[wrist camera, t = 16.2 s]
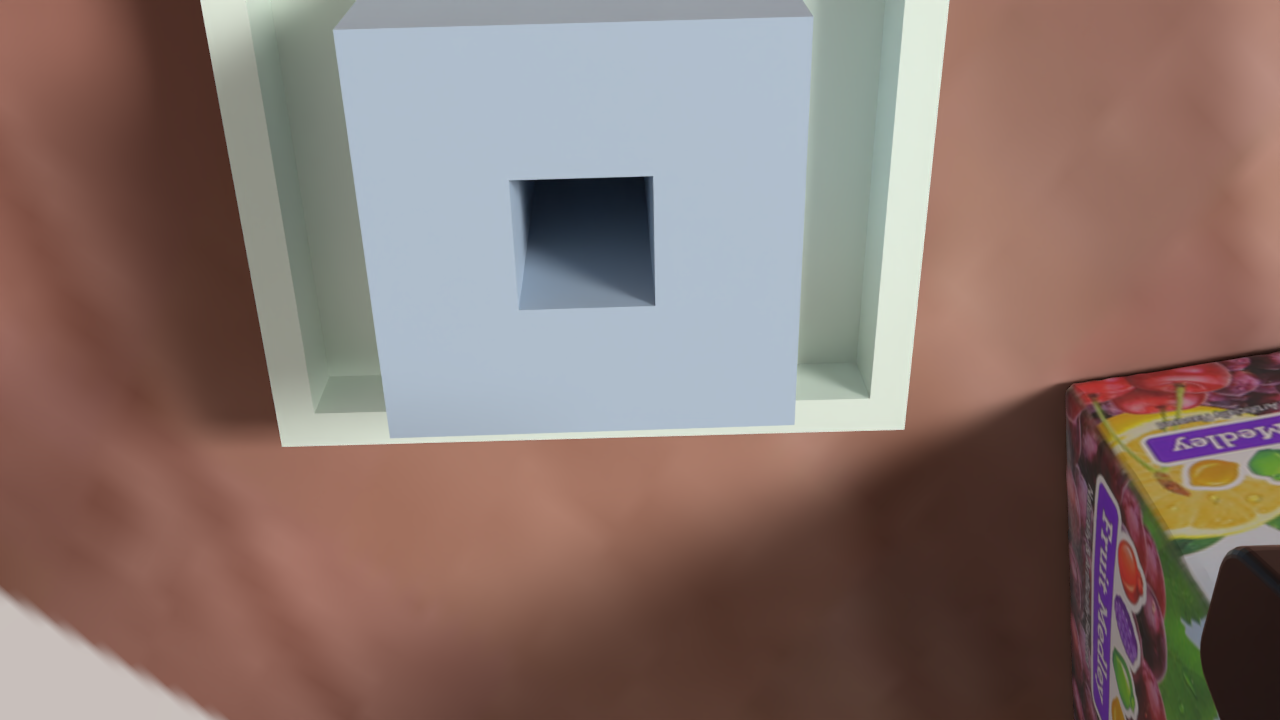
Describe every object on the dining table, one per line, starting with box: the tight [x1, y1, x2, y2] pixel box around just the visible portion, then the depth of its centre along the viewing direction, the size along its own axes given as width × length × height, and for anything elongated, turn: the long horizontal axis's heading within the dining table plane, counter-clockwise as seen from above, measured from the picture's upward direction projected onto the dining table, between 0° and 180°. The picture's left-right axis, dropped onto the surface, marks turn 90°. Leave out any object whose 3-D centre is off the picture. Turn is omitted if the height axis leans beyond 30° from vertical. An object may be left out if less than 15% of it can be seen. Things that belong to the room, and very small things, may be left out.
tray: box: [200, 0, 949, 447], centre depth 18 cm, size 10×10×2 cm
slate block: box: [333, 0, 814, 438], centre depth 16 cm, size 5×5×5 cm
